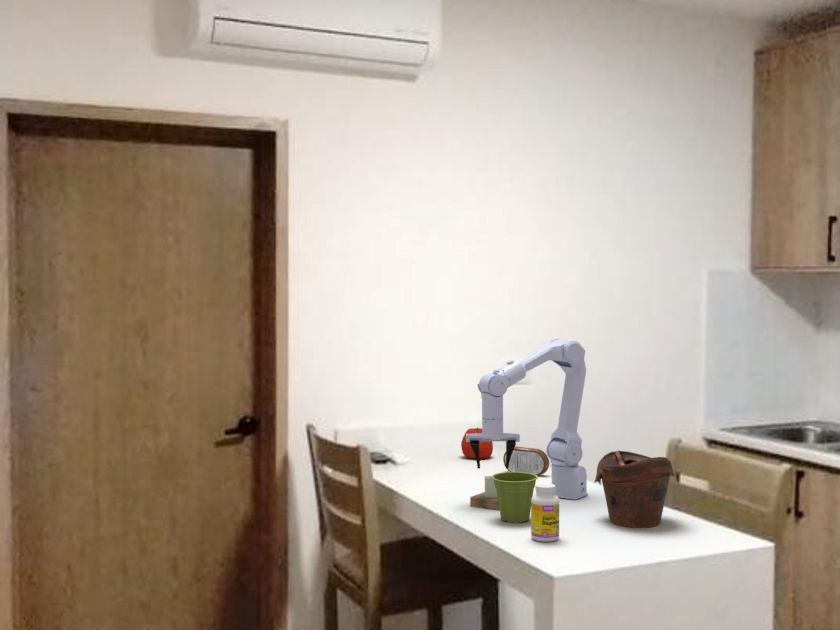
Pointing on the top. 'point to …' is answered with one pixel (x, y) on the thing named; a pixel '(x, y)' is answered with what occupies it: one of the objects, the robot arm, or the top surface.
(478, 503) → the brown square block
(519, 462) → the tin
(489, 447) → the apple
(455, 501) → the top surface
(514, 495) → the plant pot
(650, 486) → the rusty brown bucket
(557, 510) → the supplement bottle
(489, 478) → the sage block
